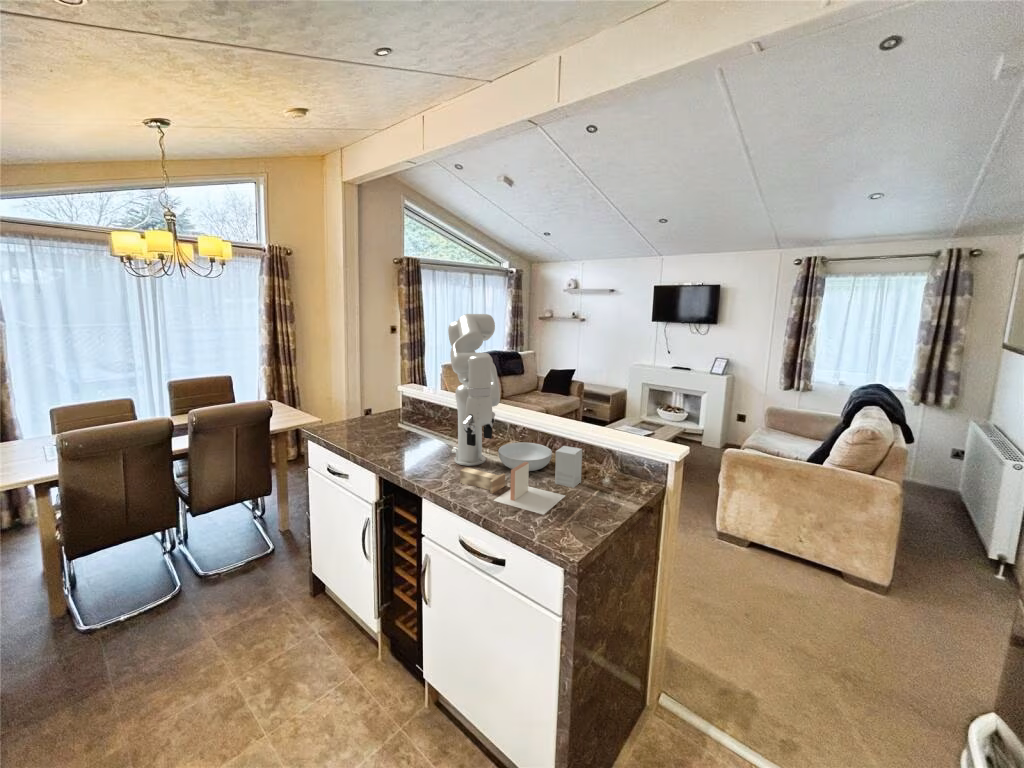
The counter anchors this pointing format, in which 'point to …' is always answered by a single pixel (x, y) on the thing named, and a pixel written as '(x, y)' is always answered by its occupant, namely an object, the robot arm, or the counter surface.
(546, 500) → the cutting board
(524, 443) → the serving bowl
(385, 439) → the counter surface
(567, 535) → the counter surface
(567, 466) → the supplement box
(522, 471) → the tile
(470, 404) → the robot arm
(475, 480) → the tall beige plank
